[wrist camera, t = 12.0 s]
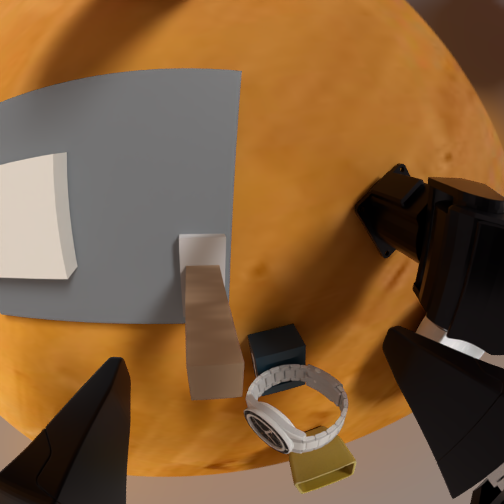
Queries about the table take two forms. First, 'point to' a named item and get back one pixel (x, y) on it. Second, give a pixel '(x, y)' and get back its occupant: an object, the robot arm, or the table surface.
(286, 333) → the watch
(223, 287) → the white-capped wooden bar
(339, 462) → the flower pot
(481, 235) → the robot arm
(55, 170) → the tile
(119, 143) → the board
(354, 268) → the table surface
